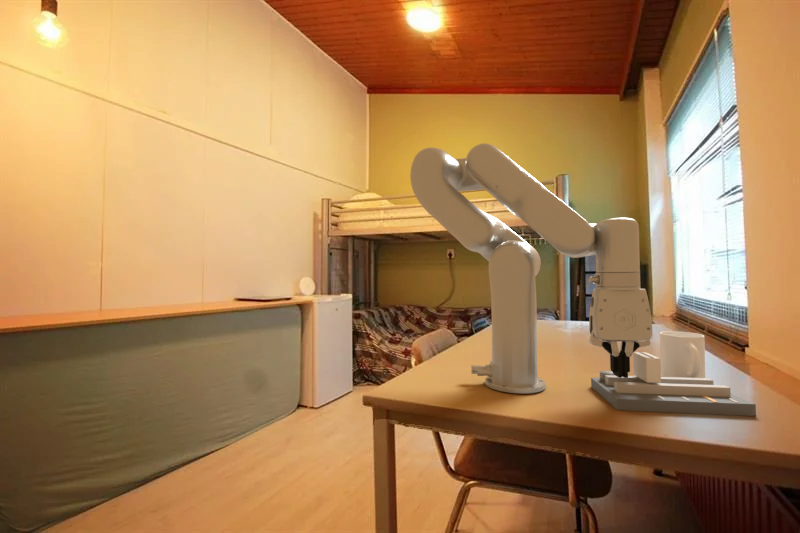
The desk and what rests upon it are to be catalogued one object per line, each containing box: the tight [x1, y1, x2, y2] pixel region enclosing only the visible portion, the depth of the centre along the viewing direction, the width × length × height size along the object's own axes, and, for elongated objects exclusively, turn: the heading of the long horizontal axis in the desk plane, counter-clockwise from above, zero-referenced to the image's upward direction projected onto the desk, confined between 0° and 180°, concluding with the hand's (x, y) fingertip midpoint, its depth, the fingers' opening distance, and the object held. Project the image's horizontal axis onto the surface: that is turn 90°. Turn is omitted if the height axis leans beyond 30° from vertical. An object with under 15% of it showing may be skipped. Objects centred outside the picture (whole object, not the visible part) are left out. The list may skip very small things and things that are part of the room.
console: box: [590, 370, 757, 417], centre depth 75 cm, size 22×14×4 cm, turn 81°
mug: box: [659, 330, 706, 378], centre depth 87 cm, size 12×8×10 cm
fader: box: [632, 351, 662, 383], centre depth 75 cm, size 3×6×6 cm, turn 171°
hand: (620, 375), depth 76 cm, fingers closed
